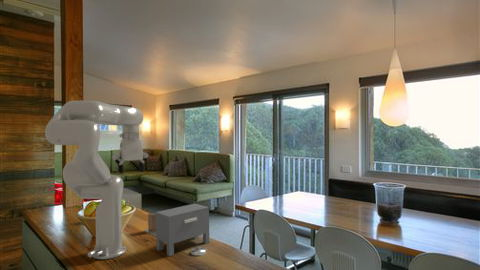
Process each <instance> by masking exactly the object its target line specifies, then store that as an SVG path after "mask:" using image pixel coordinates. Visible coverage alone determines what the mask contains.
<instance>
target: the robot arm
mask: <svg viewBox="0 0 480 270" xmlns="http://www.w3.org/2000/svg"><path fill="white" fill-rule="evenodd" d="M143 121H144V114H143V112H142V110H140V109H139V108H137V107H132V106H127V105H126V106H125V105H117V104H111V103H106V102H102V101H98V100H90V99H89V100H69V101H68V102H66V103H65V104H63V105H62V106H61V107H60V108H59V110H58V111H57V112H56V113H55V115H53V117H52V118H51V119H50V120H49V121H48V123H47V125H46V126H45V130H44V133H45V134H44V136H45V138H46V141H48V143H50V144H52V145H56V146H78V149H77V150H76V151H75V153H74V155H73V157H72V161H69V162H68V163H66V164H65V165H64V167H63V169H62V178H63V181H64V183H65V185H66V186H67V187H68V188H69V189H70V190H71V191H72V192H73V193H74V194H76V196H78V197H79V198H80V199H82V200H83V199H86V200H101V201H100V203H99V204H98V205H97V207H96V209H95V245H94V249H93V250H90V251H89V252H88V253H87V257H88V258H93V259H96V260H109V259H115V258H117V257H120V256H122V255H123V254H125V253H126V252H127V247H126V246H125V245H123V234H122V233H123V231H122V230H123V228H122V220H123V219H122V198H123V192H124V180H123V178H122V177H121V176H119V175H116V174H111V171H110V169H109V167H108V166H107V164H106V162H105V161H104V160H103V159H102V157H101V156H100V154H99V147H100V146H99V145H100V138H101V131H100V127H99V125H105V126H117V127H119V126H120V127H121V128H122V131H121V133H120V134H119V137H120V138H121V139H120V144H119V151H118V152H117V153H115V154H113V155H112V156H111V157H112V159H113V160H114V161H113V162H114V163H116V164H117V170H118V173H119V174H124V165H123V163H124V162H125V161H127V162H129V161H130V162H131V161H138V162H139V163H138V172H139V173H140V172H141V173H142V172H144V167H145V166H144V164H145V162H146V161H147V159H148V157H149V153H147V152H145V151H143V143H142V142H143V141H142V139H140V125H141V124H142V123H143ZM118 158H119V159H118Z"/></svg>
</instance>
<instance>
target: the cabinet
mask: <svg viewBox="0 0 480 270" xmlns="http://www.w3.org/2000/svg"><path fill="white" fill-rule="evenodd" d="M155 214H156V237H155V238H156V239H155V240H156V243H155V245H156V251H159V252H160V251H162V250H163V251H164V244H166V256H168V257H171V256H174V255H175V245H174V244H175V243H176V244H177V243H179V242H180V243H181V242H183V241H186V240H189V239H194V240H196V239H199V236H201V235H202V243H203V244H205V245H206V244H209V243H210V207H209V206H207V205H202V204H198V203H191V204H186V205H182V206H177V207H173V208H170V209H169V208H168V209H165V210H164V209H163V210H159V211H156V212H155Z"/></svg>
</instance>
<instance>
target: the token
mask: <svg viewBox="0 0 480 270" xmlns="http://www.w3.org/2000/svg"><path fill="white" fill-rule="evenodd" d="M190 254H191V256H195V257H200V256H204V255H206V254H207V248H206V247H204V246H196V247H193V248H191V250H190Z"/></svg>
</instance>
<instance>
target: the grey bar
mask: <svg viewBox="0 0 480 270" xmlns="http://www.w3.org/2000/svg"><path fill="white" fill-rule="evenodd" d="M147 224H148V226H147V227H148V228H146V229H144V230H143V231H144V232H145V233H147V234H150V235H151V236H154V237H155V238H156V213H155V212H152V213H148V214H147Z"/></svg>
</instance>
